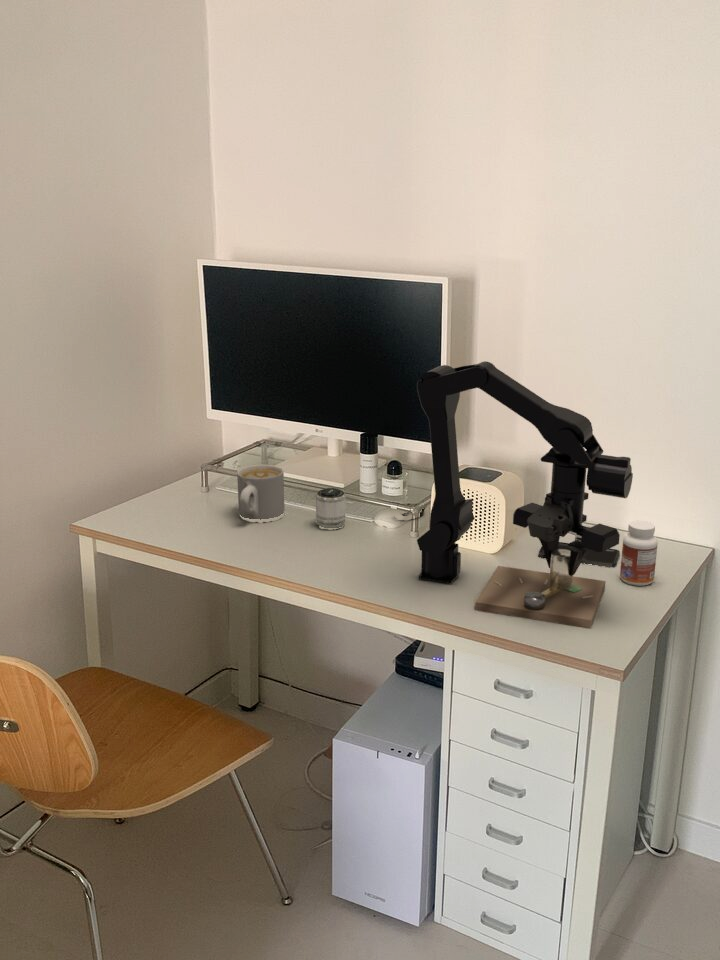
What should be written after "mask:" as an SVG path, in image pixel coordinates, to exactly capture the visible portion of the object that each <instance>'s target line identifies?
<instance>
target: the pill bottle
mask: <svg viewBox="0 0 720 960" xmlns="http://www.w3.org/2000/svg"><path fill="white" fill-rule="evenodd" d="M627 529H628V530H627V531H628V532H627V533H626V534H625V535H624V536H623V539H622V547H621V548H622V551H621V558H620V559H621V561H620V569H619V570H620V571H619V578H620V579H621V580H622V581H623V582H624V583H626V584H628V585H632V586H637V587H640V586H641V587H643V586H648V585H650V584H652V583H653V582H654V581H655V580H654V579H655V574H656V564H657V555H658V554H657V553H658V545H659V542H658V538H657V537H656V536H655V535H654V534H655V531H656V525H655V524H654V523H652V522H651V521H648V520H644V519H643V520H641V519H634V520H631V521H629V523H628V527H627Z"/></svg>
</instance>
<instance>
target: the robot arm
mask: <svg viewBox="0 0 720 960" xmlns="http://www.w3.org/2000/svg"><path fill="white" fill-rule="evenodd" d="M473 389H480V390H481V391H482V392H484V393H485V394H487V395H488V396H490V397H492V398H493V399H494V400H496V401H497V402H499V403H501V405H503V406H505V407H507V408H508V409H509V410H511V411H512V412H513V413H515V414H516V415H518V416H520V418H523V419H524V420H525V421H527V422H529V423H530V424H532V425H533V426H534V428H535V429H537V431H538V432H539V434H540V435H541V437H542V438H543V439H544V441H546V443H548V444H549V445H550V446H551V448H550V449H549V450H548V452H546V453H545V454H544V455H542V456H541V458H540V461H541V462H543V463H548V464H549V463H550V464H552V469H551V482H550V492H548V493H546V495H545V497H544V503H543V505H541V504H538V503H535V502H529V503H528V504H524V505H523V506H520V507H517V508H516V509H514V510H515V511H514V512H513V515H512V524H513V525H515V526H519V527H521V528H524V529H525V528H527V527H528V531H529V536H530V537H532V538H537V539H538V540H539V543H540V544H541V547H543V550H544V553H545V557H546V559H545V560H546V563H547V566H548V568H549V569H550V563H551V552H552V551H553V550H556V549H558V545H559V542H560V537H561V538H564V537H565V536H566V535H567V534H571V535H573V536H575V537H574V540H573V541H571V542H567V543H568V546H569V548H570V550H571V553H570V564H569V575H570V576H572V575H573V576H574V575H576V572H577V571H578V569H579V568H580V565H581V562H582V560H583V559H584V557H585V555H586V554H587V552H588V551H589V549H590V550H593V551H596V552H603V551H606V550H608V549H613V548H614V547H616V546H617V545H619V544H620V539H621V538H620V536H621V534H620V532H619V530H618V529H617V528H615V527H612V526H609V525H605V524H603V523H597V524H594V525H593V526H585V525H583V523H585V522H587V519H588V515H586V514H584V501H587V500H588V499H589V493H588V492H585V491H586V486H587V488H588V490H589V491H591V492H592V494H597V495H600V496H601V495H603V496H609V497H613V498H620V499H621V498H622V499H627V498H628V497H629V494H630V492H631V488H632V483H633V477H634V476H633V472H632V471H633V470H632V468H633V467H632V465H631V460H632V459H631V457H629V456H613V455H608V454H607V455H606V454H604V450H603V449H604V448H602V446H601V444H600V443H599V442H598V439H597V438H596V437H595V435H594V434H593V433H594V432H593V431H594V430H593V426H592V422H591V421H590V419H589V418H588V417H586V416H585V415H583V414H580V413H578V412H576V411H574V410H572V409H570V408H566V407H564V406H558V405H555V404H553V403H551V402H548V401H547V400H545V399H544V398H543V397H541V396H539V395H537V393H535V392H534V391H531V389H529V388H528V387H526V386H524V385H523V384H521V383H520V382H518V381H517V380H515V379H514V378H512V377H510V376H509V375H508V374H506V373H505V372H503V371H502V370H501V369H498V368H497V367H496V366H495V365H494V364H493V363H492V362H490V361H485V360H484V361H481V362H479V363H477V364H475V363H474V364H467V365H462V366H458V367H452V366H450V365H447V364H442V365H439V366H436V367H435V368H432V369H430V370H428V371H426V372H424V373H423V374H421V376H420V377H419V379H417V382H416V391H417V394H418V398H419V402H420V406H421V408H422V410H423V412H424V414H425V415H426V417H427V420H428V424H429V425H428V426H429V434H430V435H429V437H430V447H431V449H430V450H431V458H432V460H431V461H432V473H433V481H434V482H433V483H434V494H435V495H434V499H433V503H432V505H431V511H430V515H429V529H428V530H427V531H426V532H424V533H423V534H422V535H421V536H420V537H418V538H417V540H416V542H417V545H418V549H419V551H421V566H420V567H421V569H420V570H421V572H420V573H419V575H418V577H417V578H418V579H419V580H423V581H424V580H425V581H431V582H437V583H444V584H452V583H453V582H454V580H455V579H456V578H458V576H459V574H460V573H461V567H462V566H461V564H462V563H461V561H462V560H461V559H462V553H461V552H460V551H459V543H456V542H458V541H460V539H461V538H462V536H463V535H465V534H466V533H467V532H468V531H469V530H470V529H471V526H472V522H473V521H474V520H475V516H474V514H473V499H472V498H469V499H466V498H465V497H464V495H463V493H462V490H461V481H460V480H461V479H460V469H459V467H460V466H459V455H458V443H457V442H458V441H457V428H456V420H455V419H456V412H457V409H458V405H459V400H460V396H461V393H462V392H465V391H470V390H473Z"/></svg>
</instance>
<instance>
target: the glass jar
mask: <svg viewBox="0 0 720 960" xmlns="http://www.w3.org/2000/svg"><path fill="white" fill-rule="evenodd" d="M346 496H347V495H346V493H345V492H344V491H343V490H342V489H339V488H337V487H327V488H322V489H320V490H318V491H317V492H316V494H315V517H316V523H317V526H318V525H319V526H321V527H324V528H339V527H342V526H343V525H344V526H345V523H346V517H347V513H346V511H347V509H346V501H347V500H346V499H347V497H346ZM345 514H346V516H345Z"/></svg>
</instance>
